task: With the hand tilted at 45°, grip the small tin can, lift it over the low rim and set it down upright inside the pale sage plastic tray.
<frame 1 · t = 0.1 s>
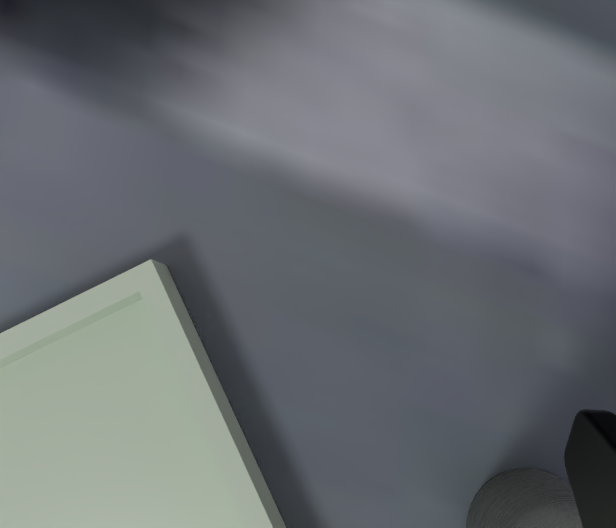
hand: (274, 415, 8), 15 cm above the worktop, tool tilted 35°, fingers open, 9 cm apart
tray: (74, 512, 22), on the worktop
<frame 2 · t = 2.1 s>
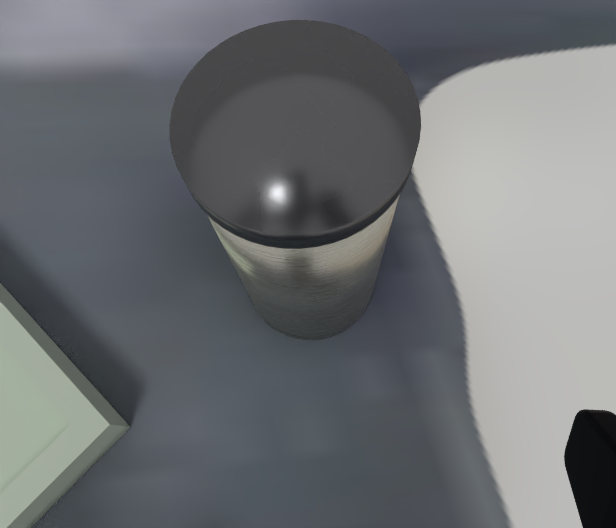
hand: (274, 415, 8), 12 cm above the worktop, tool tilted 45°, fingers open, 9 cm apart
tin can: (310, 277, 22), on the worktop
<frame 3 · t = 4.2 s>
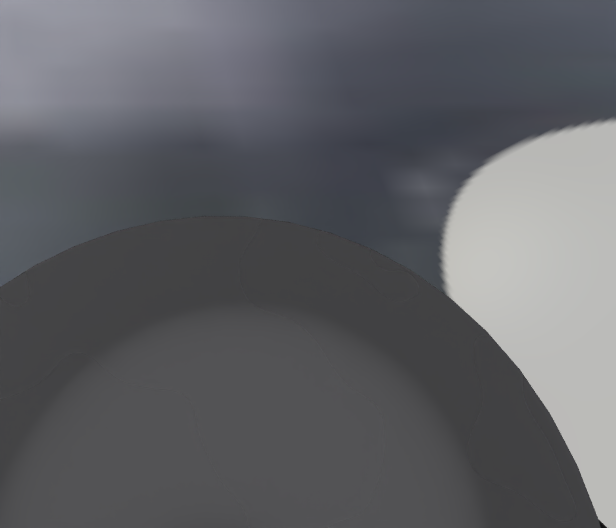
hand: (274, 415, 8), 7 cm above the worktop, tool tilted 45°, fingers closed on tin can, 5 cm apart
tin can: (294, 485, 14), on the worktop, touching gripper
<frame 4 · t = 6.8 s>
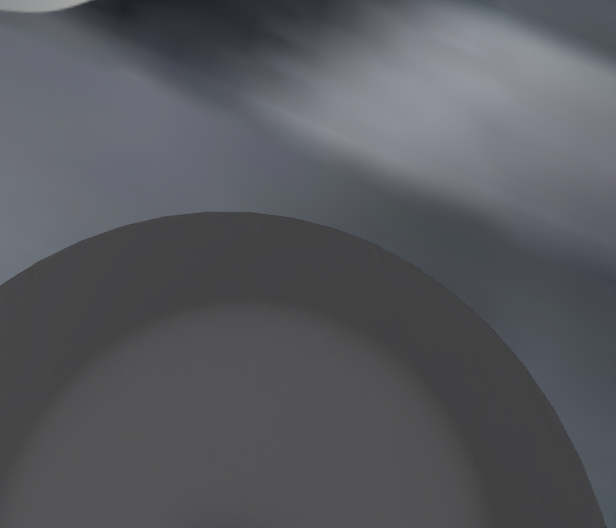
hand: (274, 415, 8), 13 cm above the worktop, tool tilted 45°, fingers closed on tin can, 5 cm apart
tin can: (295, 484, 14), point 7 cm above the worktop, touching gripper
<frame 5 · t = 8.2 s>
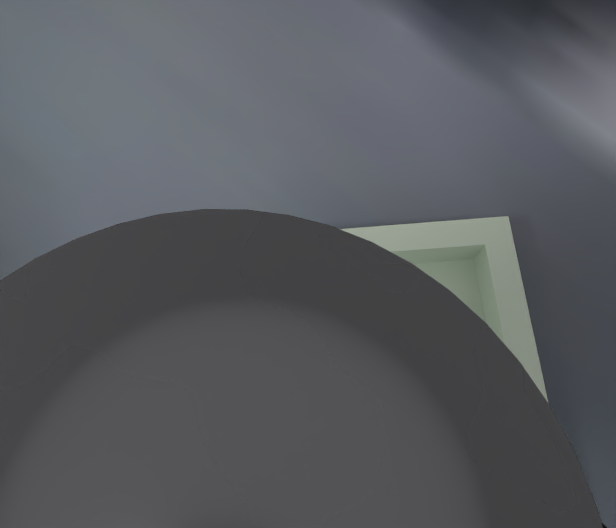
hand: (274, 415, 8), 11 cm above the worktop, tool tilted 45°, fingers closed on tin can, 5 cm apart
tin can: (294, 483, 14), point 4 cm above the worktop, touching gripper
tray: (301, 471, 18), on the worktop
when the fingers open (8 cm above the worktop, at t = 9.1 s): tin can drops 1 cm, resting on tray.
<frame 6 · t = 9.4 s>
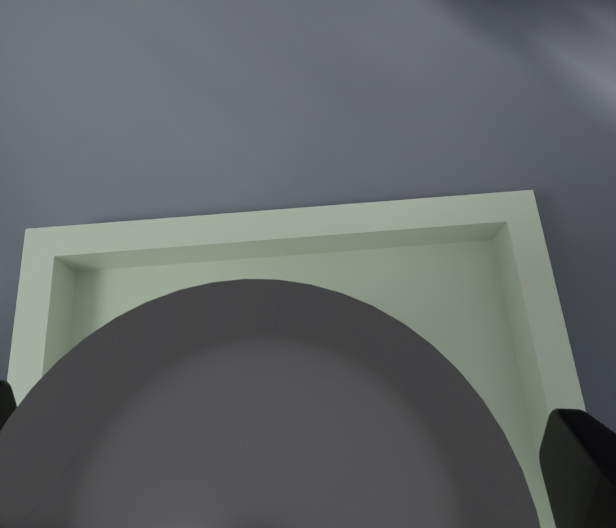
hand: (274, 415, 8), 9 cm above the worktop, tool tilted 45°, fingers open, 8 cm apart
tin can: (296, 483, 15), point 1 cm above the worktop, touching tray
tray: (297, 480, 16), on the worktop
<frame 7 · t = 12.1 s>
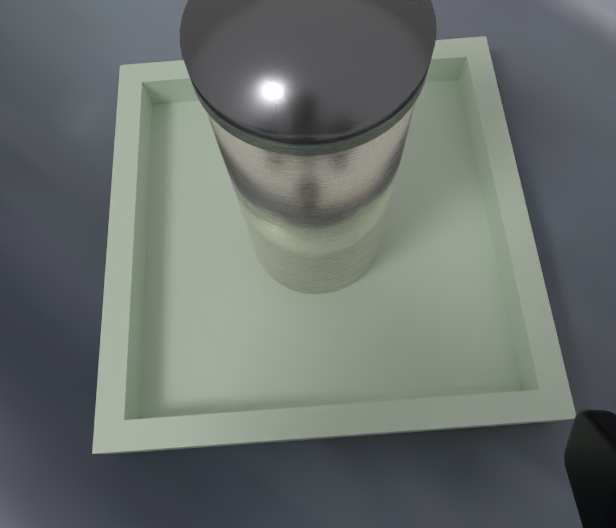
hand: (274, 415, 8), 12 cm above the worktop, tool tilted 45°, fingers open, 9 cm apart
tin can: (316, 233, 21), resting on tray
tray: (316, 237, 22), on the worktop
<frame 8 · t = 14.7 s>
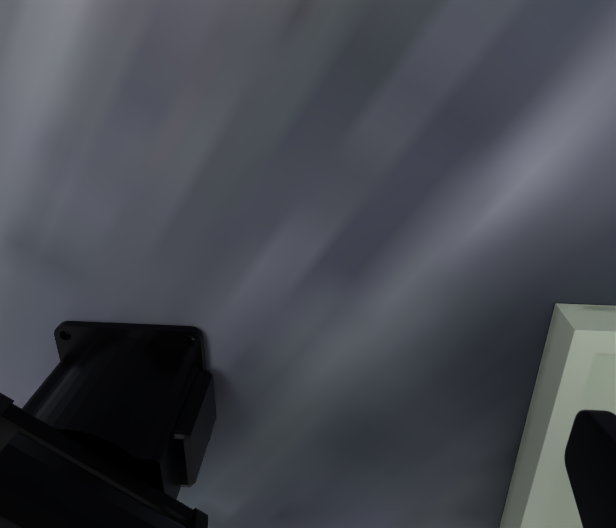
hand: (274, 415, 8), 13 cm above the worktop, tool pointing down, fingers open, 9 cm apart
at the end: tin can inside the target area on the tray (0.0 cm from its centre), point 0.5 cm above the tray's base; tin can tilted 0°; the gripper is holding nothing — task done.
